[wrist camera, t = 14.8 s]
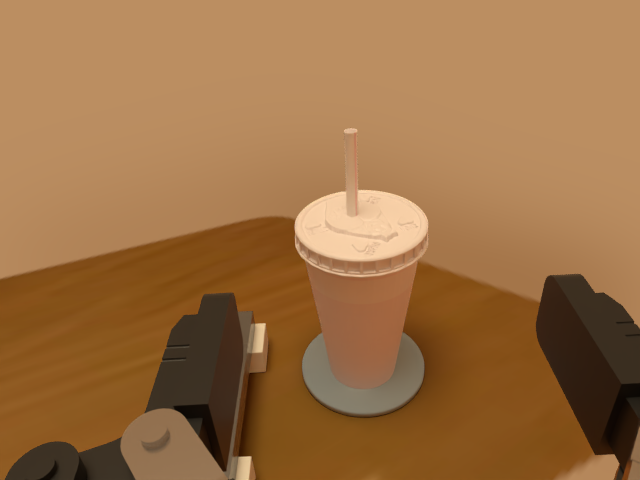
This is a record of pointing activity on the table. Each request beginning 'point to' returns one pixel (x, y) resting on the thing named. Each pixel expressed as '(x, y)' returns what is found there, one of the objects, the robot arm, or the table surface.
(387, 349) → the smoothie
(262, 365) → the hurdle stand
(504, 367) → the table surface
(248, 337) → the steel bar
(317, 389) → the pad
